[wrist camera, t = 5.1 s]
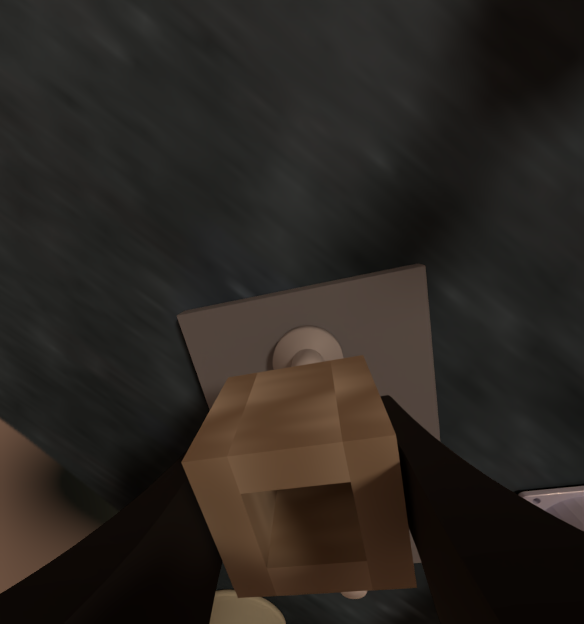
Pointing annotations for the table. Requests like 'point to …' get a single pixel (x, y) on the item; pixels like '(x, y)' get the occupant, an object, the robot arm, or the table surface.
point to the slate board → (326, 338)
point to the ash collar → (303, 482)
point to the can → (243, 610)
